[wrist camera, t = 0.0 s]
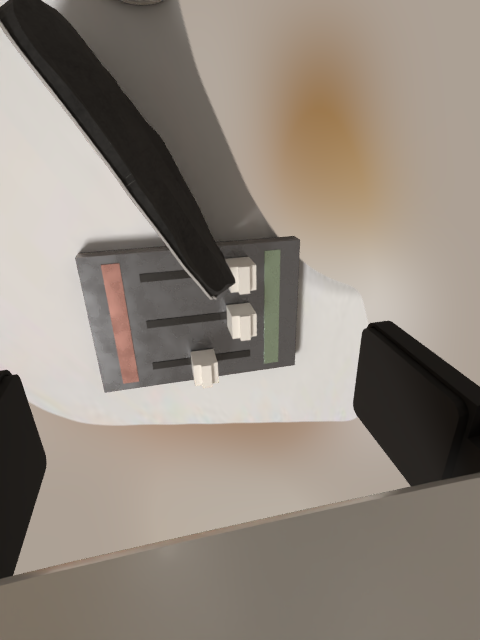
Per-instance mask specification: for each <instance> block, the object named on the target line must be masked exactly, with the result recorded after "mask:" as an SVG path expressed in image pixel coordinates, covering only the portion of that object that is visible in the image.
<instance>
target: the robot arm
mask: <svg viewBox="0 0 480 640" xmlns="http://www.w3.org/2000/svg"><path fill="white" fill-rule="evenodd" d="M120 1H123V2H126V3H129V4H137V5H148V4H155V3H158V2H161V1H163V0H120ZM353 407H354V411H355V413H356V415H357V416H358V417H359V419H360V420H361V421H362V423H363V424H364V425H365V427H366V428H367V429H368V431H369V432H370V433H371V435H372V436H373V437H374V438H375V440H376V441H377V442H378V444H379V445H380V446H381V448H382V449H383V450H384V452H385V453H386V454H387V455H388V457H389V458H390V459H391V461H392V462H393V463H394V465H395V466H396V467H397V468H398V470H399V471H400V472H401V474H402V475H403V476H404V477H405V479H406V480H407V482H408V483H409V484H410V486H411V487H407V488H402V489H397V490H393V491H388V492H383V493H379V494H374V495H369V496H365V497H360V498H355V499H351V500H346V501H341V502H337V503H332V504H328V505H323V506H318V507H314V508H310V509H305V510H300V511H296V512H291V513H286V514H282V515H277V516H273V517H268V518H264V519H259V520H255V521H250V522H246V523H241V524H237V525H232V526H228V527H223V528H219V529H214V530H210V531H205V532H201V533H196V534H192V535H188V536H183V537H178V538H174V539H170V540H165V541H161V542H157V543H152V544H147V545H143V546H139V547H134V548H130V549H125V550H121V551H117V552H112V553H108V554H103V555H99V556H95V557H90V558H86V559H81V560H77V561H73V562H68V563H64V564H60V565H56V566H52V567H48V568H44V569H39V570H35V571H31V572H27V573H23V574H19V575H14V576H13V574H14V570H15V567H16V564H17V561H18V558H19V554H20V551H21V548H22V545H23V541H24V538H25V535H26V531H27V528H28V525H29V522H30V519H31V515H32V512H33V509H34V505H35V502H36V499H37V496H38V493H39V490H40V486H41V483H42V480H43V476H44V473H45V469H46V455H45V452H44V449H43V446H42V443H41V440H40V437H39V434H38V431H37V428H36V424H35V422H34V418H33V415H32V412H31V409H30V406H29V403H28V400H27V397H26V394H25V391H24V388H23V385H22V382H21V379H20V377H19V376H18V375H17V374H16V375H12V374H11V373H10V371H8V370H2V371H0V640H480V387H479V386H478V385H476V384H475V383H474V382H473V381H471V380H470V379H469V378H467V377H466V376H464V375H463V374H461V373H460V372H459V371H458V370H456V369H455V368H454V367H452V366H451V365H450V364H448V363H447V362H445V361H444V360H442V359H441V358H440V357H439V356H437V355H436V354H435V353H433V352H432V351H431V350H429V349H428V348H427V347H425V346H424V345H422V344H421V343H419V342H418V341H417V340H416V339H414V338H413V337H412V336H410V335H409V334H407V333H406V332H405V331H403V330H402V329H401V328H399V327H398V326H397V325H395V324H394V323H393V322H391V321H383V322H375V323H370V324H369V325H368V327H367V328H366V329H364V330H363V332H362V338H361V345H360V353H359V361H358V369H357V377H356V384H355V392H354V400H353Z"/></svg>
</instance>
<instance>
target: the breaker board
mask: <svg viewBox="0 0 480 640" xmlns="http://www.w3.org/2000/svg"><path fill="white" fill-rule="evenodd" d="M215 243H216V244H217V246H218V247H219V249H220V250H221V251H222V253H223V255H224V258H225V259H228V258H239V257H250V259H251V260H252V261H253V262H254V263H255V264H256V290H253V291H250V294H241V295H240V294H239V292H234V293H231V292H230V290H229V288H228V289H227V290H225V291H224V292H222V293H221V294H220V295H218V296H217V299H216V300H215V299H212V300H210V299H209V298H208V297H207V296H206V294H205V293H204V292H203V291H202V289H201V288H200V287H199V286H198V285H197V283H196V282H195V281H194V280H193V279H192V278H191V277H190V276H189V274H188V273H187V272H186V271H185V270H184V269H183V267H182V266H181V265H180V263H179V262H178V261H177V259H176V258H175V257H174V255H173V254H172V253H171V251H170V250H169V248H168V247H167V246H163V247H151V248H138V249H125V250H113V251H100V252H87V253H78V254H77V256H76V258H75V259H76V264H77V268H78V273H79V277H80V282H81V287H82V291H83V296H84V300H85V305H86V309H87V314H88V318H89V323H90V328H91V332H92V337H93V341H94V346H95V350H96V355H97V360H98V364H99V369H100V373H101V378H102V382H103V387H104V391H105V392H112V391H119V390H126V389H133V388H140V387H146V386H153V385H160V384H167V383H174V382H181V381H188V380H194V377H193V372H192V362H191V352H192V351H200V350H208V349H214V352H215V356H216V359H217V362H218V376H222V375H229V374H236V373H243V372H250V371H256V370H263V369H270V368H277V367H284V366H291V365H295V343H296V319H297V296H298V273H299V249H300V240H299V239H298V238H296V237H294V236H289V237H277V238H264V239H252V240H239V241H226V242H215ZM242 303H250V304H251V306H252V307H253V309H254V310H255V312H256V314H257V336H253V337H251V340H246V341H241V340H240V338H237V339H233V338H232V336H231V334H230V332H229V329H228V327H227V308H226V305H233V304H242Z"/></svg>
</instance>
